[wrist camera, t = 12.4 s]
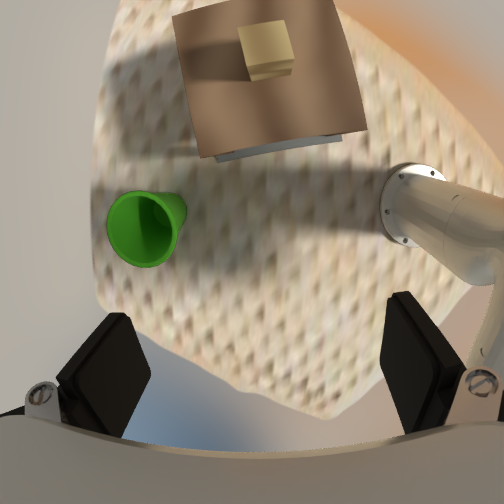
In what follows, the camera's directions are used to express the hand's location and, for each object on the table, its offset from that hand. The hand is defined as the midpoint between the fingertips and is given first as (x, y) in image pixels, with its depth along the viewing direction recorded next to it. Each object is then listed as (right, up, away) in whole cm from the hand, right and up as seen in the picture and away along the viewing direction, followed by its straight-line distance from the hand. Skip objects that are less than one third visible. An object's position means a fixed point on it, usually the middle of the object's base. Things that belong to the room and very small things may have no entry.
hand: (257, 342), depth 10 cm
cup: (-12, +9, +32) cm, 35 cm away
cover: (+2, +24, +25) cm, 35 cm away
